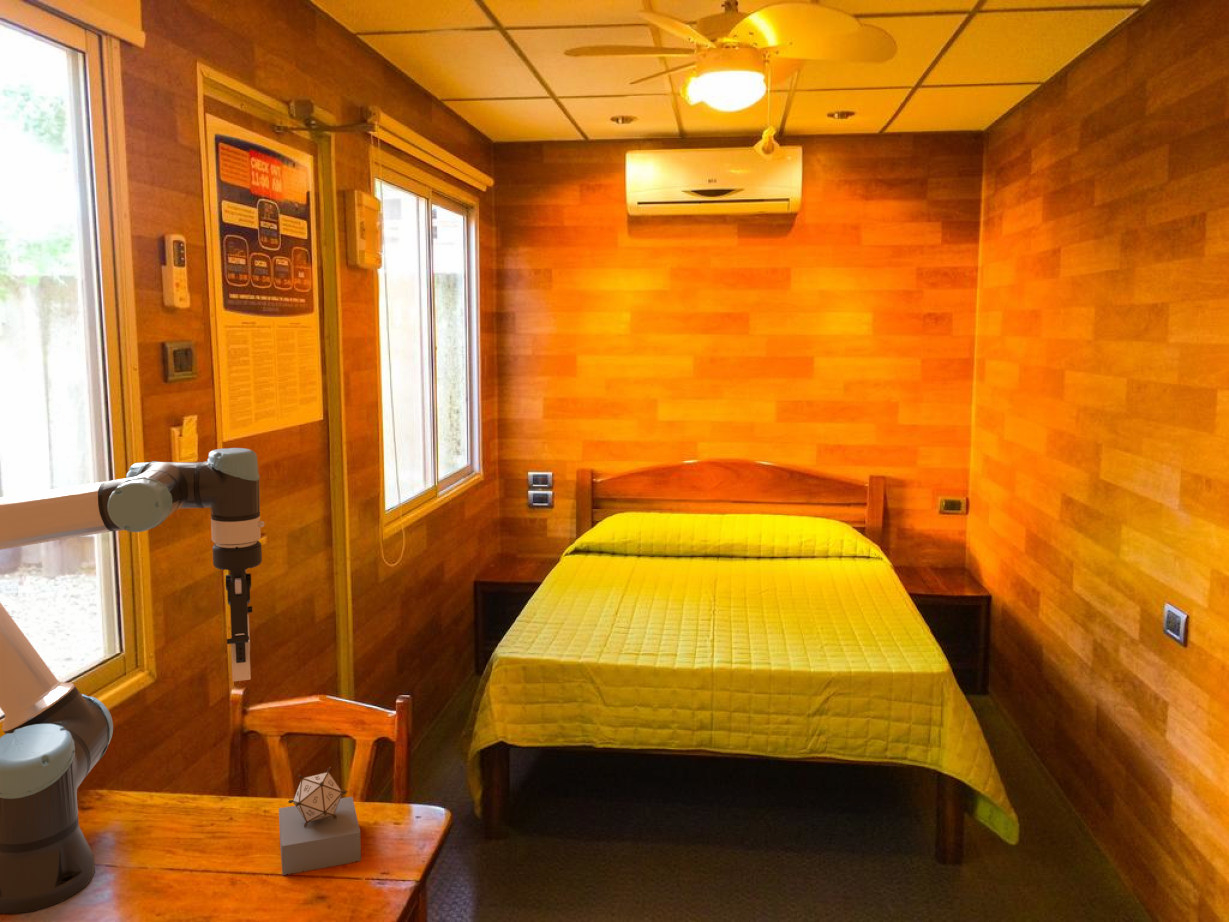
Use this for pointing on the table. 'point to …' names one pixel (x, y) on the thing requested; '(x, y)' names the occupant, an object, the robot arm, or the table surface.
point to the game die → (317, 796)
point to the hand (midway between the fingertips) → (241, 665)
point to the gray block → (319, 839)
